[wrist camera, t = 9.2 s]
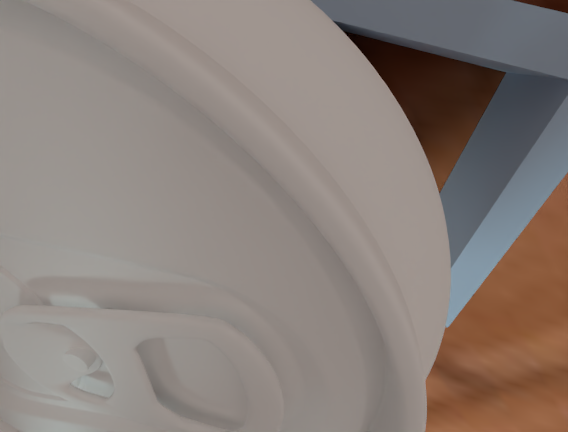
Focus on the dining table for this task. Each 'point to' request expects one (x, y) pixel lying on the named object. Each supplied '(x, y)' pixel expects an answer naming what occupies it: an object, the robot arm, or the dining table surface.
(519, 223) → the corral
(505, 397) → the dining table surface
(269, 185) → the beverage can
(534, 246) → the dining table surface
